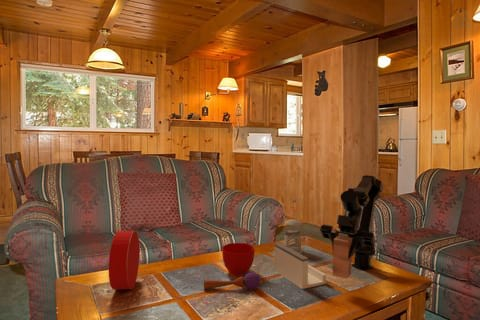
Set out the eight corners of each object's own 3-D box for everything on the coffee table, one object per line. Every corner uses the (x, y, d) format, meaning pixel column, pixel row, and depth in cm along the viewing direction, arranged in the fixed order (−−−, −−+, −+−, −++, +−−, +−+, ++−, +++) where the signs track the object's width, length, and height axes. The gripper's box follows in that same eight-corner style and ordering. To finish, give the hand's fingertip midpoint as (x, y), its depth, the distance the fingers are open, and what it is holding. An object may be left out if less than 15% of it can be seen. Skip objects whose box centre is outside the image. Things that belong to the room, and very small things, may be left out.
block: (337, 270, 123) (338, 231, 122) (351, 274, 120) (352, 233, 119) (332, 275, 118) (333, 234, 117) (346, 279, 116) (348, 237, 115)
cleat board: (296, 266, 143) (297, 240, 143) (325, 283, 126) (326, 254, 126) (274, 270, 139) (274, 243, 138) (301, 289, 122) (302, 259, 121)
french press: (281, 247, 168) (283, 197, 167) (305, 248, 167) (306, 198, 165) (282, 253, 158) (283, 201, 157) (307, 255, 157) (308, 201, 156)
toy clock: (124, 275, 131) (123, 224, 130) (139, 275, 132) (139, 224, 130) (108, 300, 111) (108, 240, 110) (127, 299, 112) (126, 240, 110)
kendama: (204, 274, 124) (258, 270, 125) (205, 291, 123) (259, 287, 124) (203, 278, 118) (260, 273, 119) (204, 296, 117) (261, 291, 118)
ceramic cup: (252, 262, 147) (252, 240, 146) (255, 279, 130) (255, 253, 129) (222, 262, 146) (222, 239, 146) (221, 278, 129) (221, 253, 129)
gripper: (322, 202, 126) (309, 239, 118) (375, 209, 115) (365, 249, 107) (329, 219, 133) (317, 255, 125) (379, 227, 122) (370, 266, 114)
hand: (341, 256), depth 117 cm, fingers closed on block, 5 cm apart
